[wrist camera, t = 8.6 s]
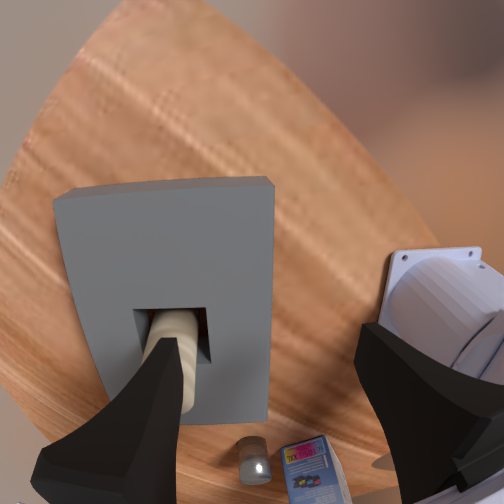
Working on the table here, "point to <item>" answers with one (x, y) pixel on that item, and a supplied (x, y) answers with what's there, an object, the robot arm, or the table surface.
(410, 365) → the robot arm
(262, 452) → the short steel pin
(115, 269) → the hole plate
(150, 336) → the birch pin
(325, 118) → the table surface
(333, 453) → the ink cartridge box
